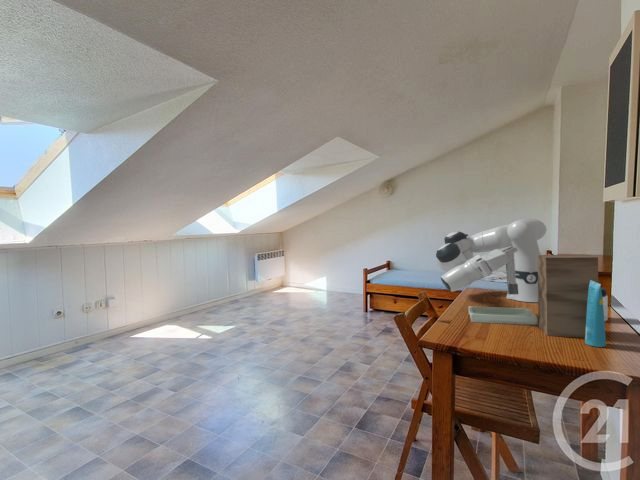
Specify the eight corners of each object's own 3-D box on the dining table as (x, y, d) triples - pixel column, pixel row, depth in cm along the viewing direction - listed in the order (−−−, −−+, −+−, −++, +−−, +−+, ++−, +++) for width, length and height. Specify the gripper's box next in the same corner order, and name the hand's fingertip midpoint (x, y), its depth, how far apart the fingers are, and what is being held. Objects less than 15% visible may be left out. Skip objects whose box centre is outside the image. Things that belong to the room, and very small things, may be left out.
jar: (602, 324, 119) (601, 291, 119) (575, 319, 126) (574, 288, 126) (610, 319, 124) (610, 287, 124) (584, 315, 131) (583, 285, 131)
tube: (611, 349, 96) (611, 284, 96) (592, 348, 98) (591, 284, 97) (597, 340, 103) (597, 279, 103) (579, 340, 105) (579, 279, 104)
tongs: (504, 249, 130) (513, 249, 129) (507, 292, 130) (516, 292, 129) (506, 250, 127) (515, 250, 126) (509, 294, 127) (518, 294, 126)
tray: (468, 313, 140) (468, 306, 140) (528, 316, 133) (528, 308, 133) (471, 321, 128) (471, 314, 128) (537, 325, 121) (537, 317, 121)
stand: (538, 326, 119) (537, 254, 118) (585, 329, 115) (584, 254, 114) (547, 335, 110) (546, 257, 109) (598, 338, 105) (598, 257, 104)
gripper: (482, 269, 141) (514, 252, 137) (489, 276, 122) (526, 257, 117) (474, 256, 142) (505, 239, 137) (479, 261, 123) (515, 242, 118)
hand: (515, 248), depth 127 cm, fingers closed on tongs, 3 cm apart
